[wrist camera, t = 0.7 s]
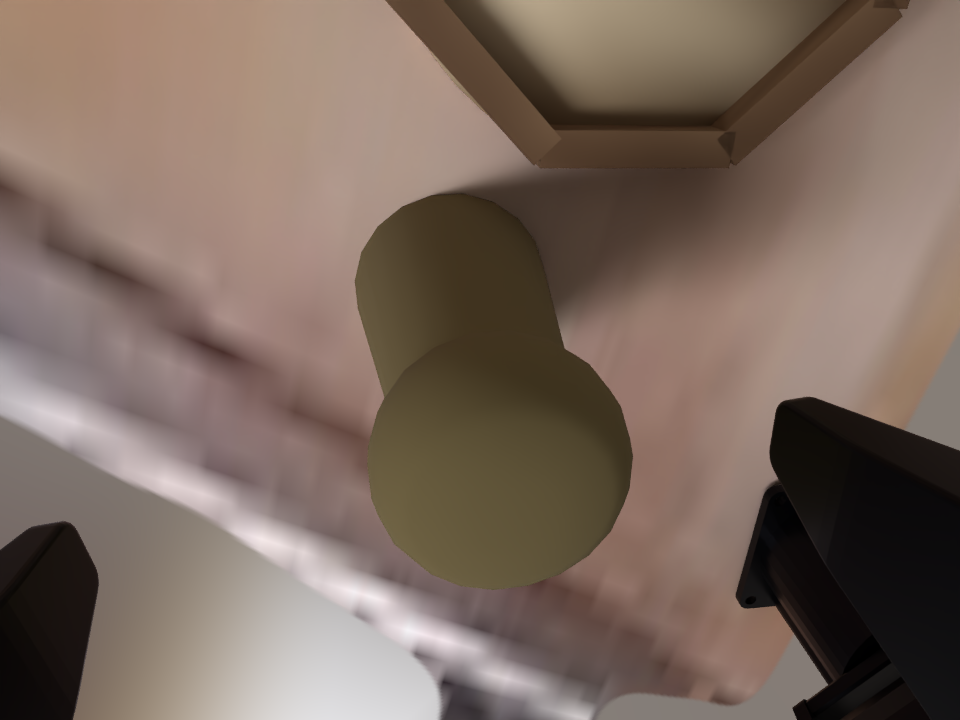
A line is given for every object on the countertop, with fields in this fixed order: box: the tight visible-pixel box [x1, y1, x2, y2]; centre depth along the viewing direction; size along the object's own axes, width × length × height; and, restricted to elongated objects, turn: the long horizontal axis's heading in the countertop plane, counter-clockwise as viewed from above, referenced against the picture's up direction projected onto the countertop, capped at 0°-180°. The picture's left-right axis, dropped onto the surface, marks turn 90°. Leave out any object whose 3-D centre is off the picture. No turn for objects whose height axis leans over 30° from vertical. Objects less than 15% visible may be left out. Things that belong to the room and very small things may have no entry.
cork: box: [355, 194, 633, 590], centre depth 17 cm, size 6×6×11 cm
